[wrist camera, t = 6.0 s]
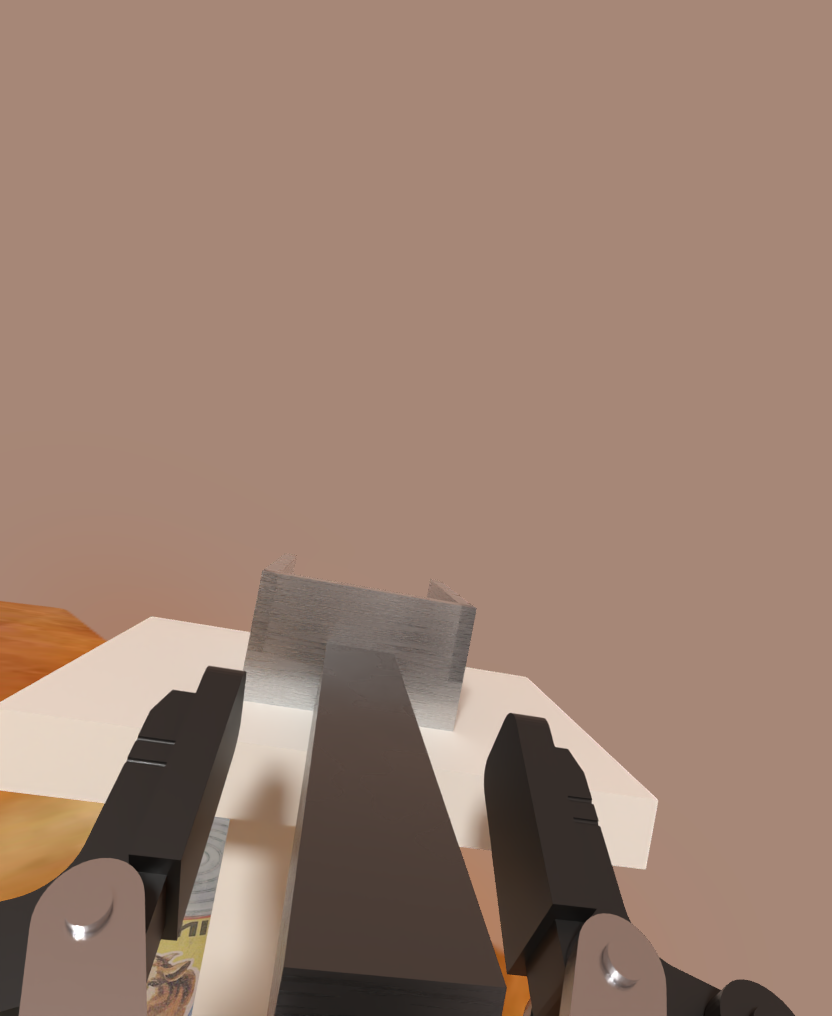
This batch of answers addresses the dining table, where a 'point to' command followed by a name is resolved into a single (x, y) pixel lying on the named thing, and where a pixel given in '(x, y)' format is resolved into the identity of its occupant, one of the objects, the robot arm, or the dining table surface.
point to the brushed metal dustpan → (371, 802)
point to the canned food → (188, 937)
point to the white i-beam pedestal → (271, 776)
